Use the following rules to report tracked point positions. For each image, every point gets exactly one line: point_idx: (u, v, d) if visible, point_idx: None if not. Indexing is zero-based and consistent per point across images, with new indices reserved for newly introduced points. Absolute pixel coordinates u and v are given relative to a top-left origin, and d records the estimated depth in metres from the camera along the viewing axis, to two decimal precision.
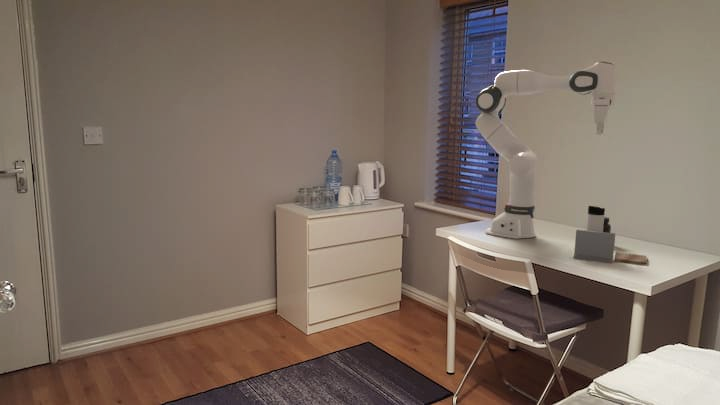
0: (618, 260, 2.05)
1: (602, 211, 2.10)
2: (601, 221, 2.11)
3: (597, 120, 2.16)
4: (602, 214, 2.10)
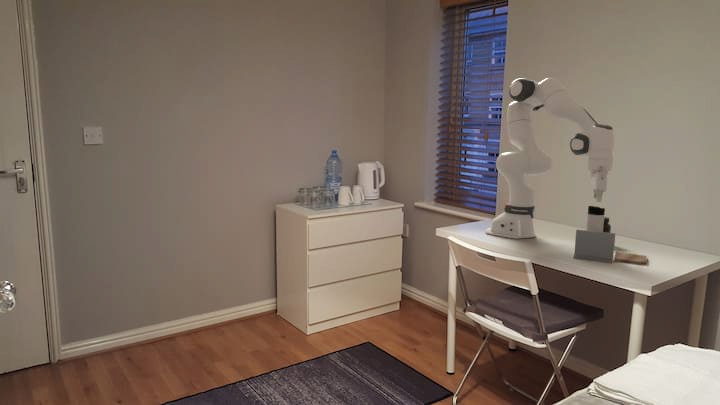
0: (618, 260, 2.05)
1: (602, 211, 2.10)
2: (601, 221, 2.11)
3: None
4: (602, 214, 2.10)
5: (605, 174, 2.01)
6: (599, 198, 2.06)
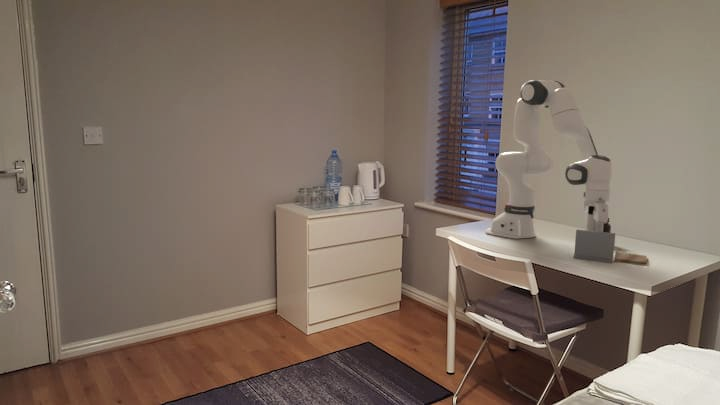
0: (618, 260, 2.05)
1: None
2: None
3: None
4: None
5: (606, 206, 2.03)
6: (598, 228, 2.09)
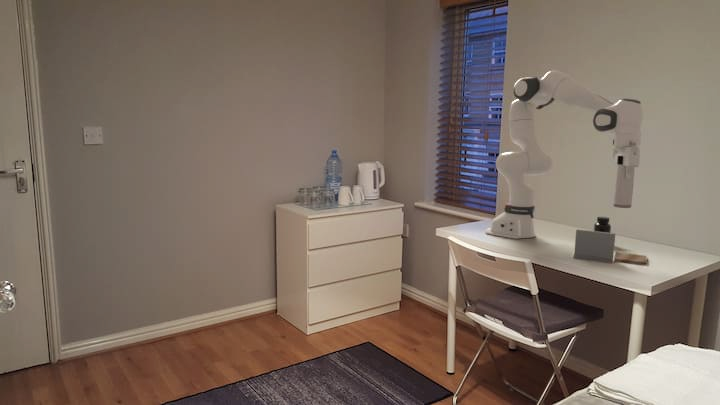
0: (618, 260, 2.05)
1: None
2: None
3: None
4: None
5: (637, 149, 1.94)
6: (628, 174, 2.00)
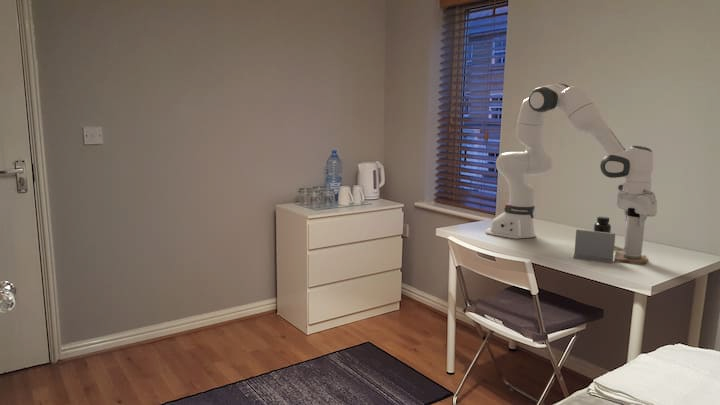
0: (618, 260, 2.05)
1: None
2: None
3: None
4: None
5: None
6: (642, 222, 2.00)
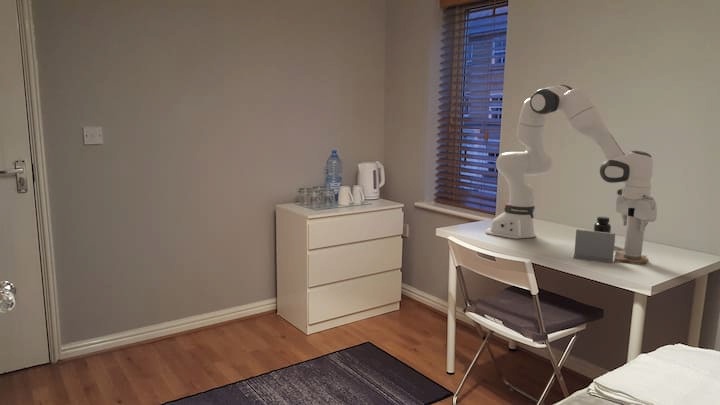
0: (618, 260, 2.05)
1: None
2: None
3: None
4: None
5: None
6: (643, 228, 2.00)
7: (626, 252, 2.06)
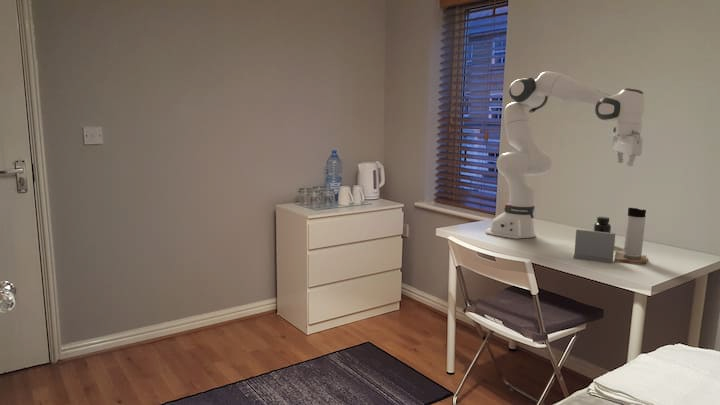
0: (618, 260, 2.05)
1: (644, 213, 2.02)
2: (643, 223, 2.02)
3: None
4: (644, 216, 2.02)
5: (640, 138, 2.02)
6: (631, 162, 2.08)
7: (626, 252, 2.06)
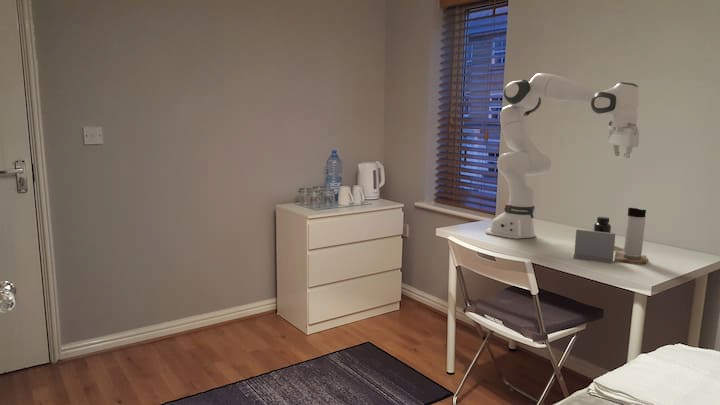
0: (618, 260, 2.05)
1: (644, 213, 2.02)
2: (643, 223, 2.02)
3: None
4: (644, 216, 2.02)
5: (637, 130, 2.06)
6: (628, 154, 2.12)
7: (626, 252, 2.06)
